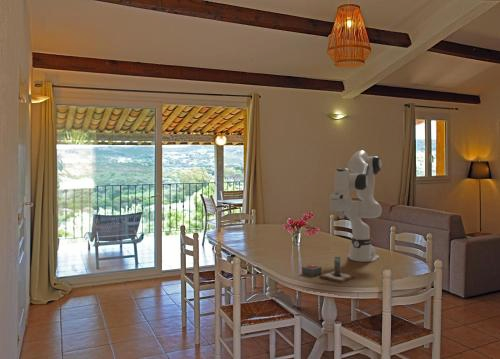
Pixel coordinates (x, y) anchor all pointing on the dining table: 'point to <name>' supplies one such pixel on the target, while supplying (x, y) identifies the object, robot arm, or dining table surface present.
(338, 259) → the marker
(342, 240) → the dining table surface
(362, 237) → the robot arm
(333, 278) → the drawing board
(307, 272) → the button housing
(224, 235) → the dining table surface
